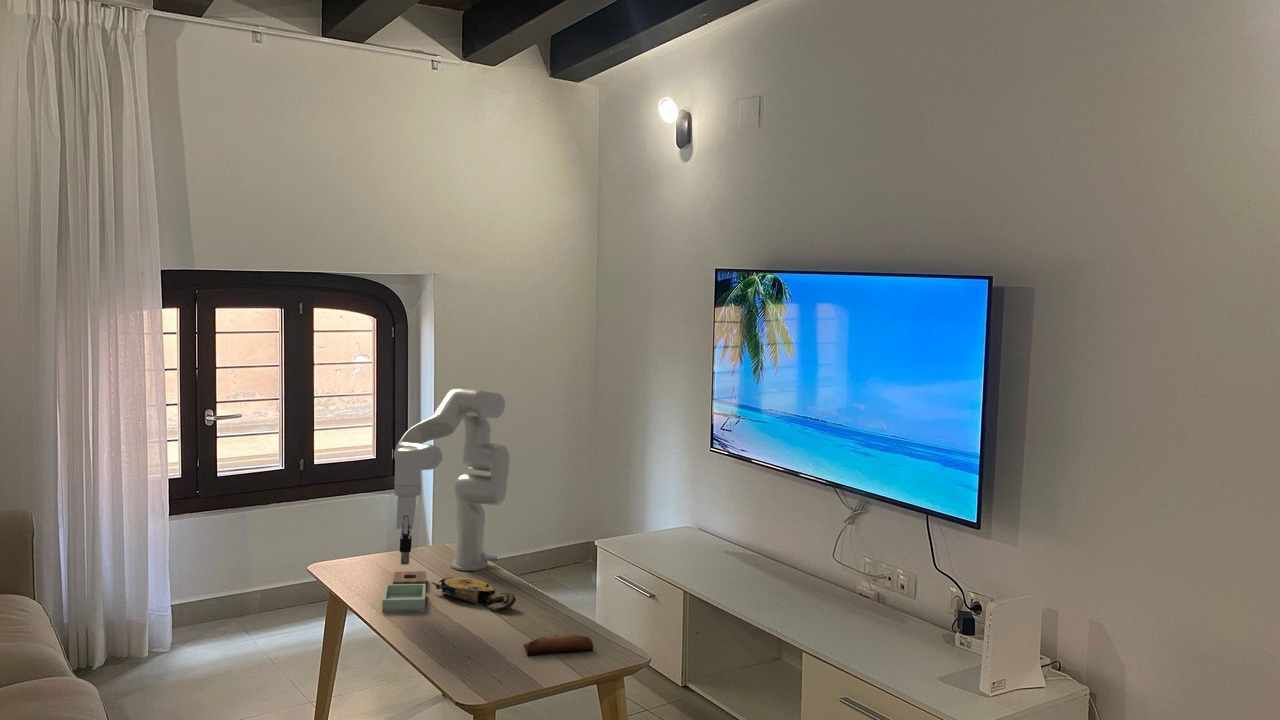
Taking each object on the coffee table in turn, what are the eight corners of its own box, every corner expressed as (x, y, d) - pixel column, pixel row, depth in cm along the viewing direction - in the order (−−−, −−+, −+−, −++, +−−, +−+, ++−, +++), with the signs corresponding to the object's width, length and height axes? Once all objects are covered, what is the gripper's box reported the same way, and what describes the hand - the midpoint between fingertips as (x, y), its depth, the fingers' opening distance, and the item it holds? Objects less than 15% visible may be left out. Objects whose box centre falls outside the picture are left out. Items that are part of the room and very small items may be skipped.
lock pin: (409, 562, 285) (410, 536, 284) (408, 564, 283) (409, 538, 282) (400, 562, 284) (401, 536, 284) (400, 564, 282) (401, 538, 281)
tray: (425, 594, 293) (425, 583, 293) (424, 610, 279) (424, 599, 279) (385, 595, 290) (385, 584, 290) (382, 611, 277) (382, 600, 276)
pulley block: (493, 597, 275) (430, 572, 295) (490, 617, 275) (428, 591, 295) (529, 593, 286) (466, 570, 306) (526, 613, 286) (463, 588, 306)
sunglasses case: (585, 639, 263) (589, 623, 259) (590, 660, 258) (594, 645, 254) (520, 644, 257) (524, 628, 254) (524, 666, 252) (528, 650, 248)
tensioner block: (426, 580, 307) (426, 571, 306) (425, 590, 297) (425, 581, 297) (394, 580, 304) (394, 571, 304) (392, 591, 295) (392, 581, 294)
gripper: (395, 483, 289) (393, 543, 290) (393, 495, 273) (391, 558, 275) (421, 483, 290) (419, 543, 292) (419, 495, 275) (417, 558, 276)
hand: (405, 549), depth 283 cm, fingers closed on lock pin, 2 cm apart
